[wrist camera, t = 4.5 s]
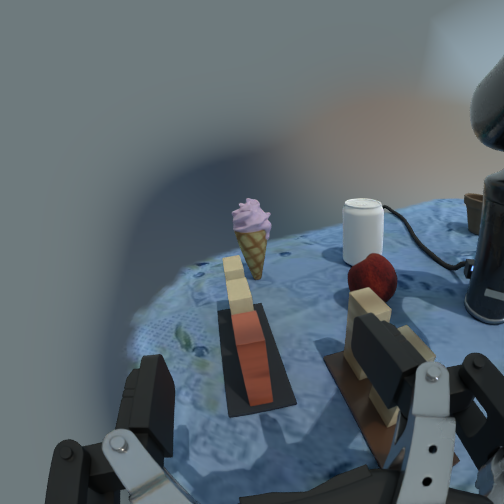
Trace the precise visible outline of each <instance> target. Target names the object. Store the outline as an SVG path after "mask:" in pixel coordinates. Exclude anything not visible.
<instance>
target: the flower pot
mask: <svg viewBox="0 0 504 504" xmlns="http://www.w3.org/2000/svg"><path fill="white" fill-rule="evenodd" d="M464 203H465V204H466V207H467V218H468V229H469V231H471V232H472V233H474V234H477V235H479V231H480V224H481V215H482V204H483V195H479V194H472V193H468V194H465V197H464Z"/></svg>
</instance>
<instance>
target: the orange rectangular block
mask: <svg viewBox="0 0 504 504" xmlns="http://www.w3.org/2000/svg"><path fill="white" fill-rule="evenodd" d="M231 318H232V324H233V330H234V336H235V342H236V347H237V352H238V356H239V361H240V365H241V370H242V374H243V378H244V383H245V387H246V391H247V395H248V400H249V404H250V406H255V405H261V404H266V403H270V402H273V397H272V389H271V382H270V374H269V366H268V358H267V351H266V343H265V338H264V335H263V332H262V328H261V325H260V322H259V319H258V315H257V312H256V310H255V311H250V312H245V313H239V314H234V315H231Z"/></svg>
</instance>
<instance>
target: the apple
mask: <svg viewBox="0 0 504 504" xmlns="http://www.w3.org/2000/svg"><path fill="white" fill-rule="evenodd" d="M348 285H349V289H350V292H352V291H356V290H360V289H364V288H368V287H369V288H370V289H371V290H372V291H373V292H374V293H375V294H376V295H377V296H378V297H379V298H381V299H382V300H383V301H384V302H385V303H386V302H387V301H388V300H389V299H390V298H391V297H392V296H393V295H394V293H395V291H396V288H397V275H396V272H395V270H394V268H393V266H392V265H391V263H390V262H389V261H388V260H387V259H386V258H384V257H383V256H382V255H380V254H377V253H371V254H369V255H368V256H367V257H366V259H364V260H363V261H361V262H359V263H357V264H355V265H354V266H352V267H351V269H350V270H349V272H348Z"/></svg>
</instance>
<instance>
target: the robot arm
mask: <svg viewBox="0 0 504 504" xmlns="http://www.w3.org/2000/svg"><path fill="white" fill-rule="evenodd" d="M470 120H471V125H472V129H473V131H474V133H475V135H476V137H477V138H478V139H479V140H480V141H481V143H483V144H484V145H486V146H488V147H490V148H492V149H495V150H499V151H503V152H504V56H503V57H502V58H501V60H500V61H499V62H498V64H496V66H495V67H494V68H493V69H492V70H491V71H490V72H489V73H488V74H487V75H486V77H485V78H484V79H483V80H482V81H481V82H480V83H479V85H478V86H477V88H476V90H475V92H474V94H473V97H472V100H471V106H470ZM382 207H383V209H384V208H386V209H388V210H389V211H390V212H392V213H393V214H395V215H397V216H398V217H399V218H400V219H401V220H402V221H403V222H404V223H405V224H406V226H407V228H408V230H409V231H410V233H411V235H412V237H413V239H414V240H415V241H416V243H417V244H418V245H419V246H420V247H421V249H422V250H424V251H425V252H426V253H427V254H428V255H429V256H431V257H432V258H433V259H434V260H435V261H436V262H437V263H439V264H440V265H442V266H443V267H445V268H447V269H449V270H458V269H460V268H461V267H464V266H465V268H464V275H465V277H466V278H467V279H470V283H469V287H468V290H467V293H466V296H465V299H464V305H465V307H466V309H467V311H468V312H469V313H470V314H471V315H472V316H473V317H475V318H476V319H478V320H480V321H482V322H485V323H489V324H501V323H503V322H504V169H503V170H501V171H499V172H497V173H494V174H491V175H488V176H487V177H486V178H485V180H484V190H483V204H482V215H481V224H480V231H479V238H478V244H477V250H476V255H475V260H474V259H466V261H463V262H460V263H458V264H457V265H454V266H453V265H449V264H447V263H445V262H444V261H442V260H441V259H440V258H438V257H437V256H436V255H435V254H434V253H433V252H431V251H430V250H429V249H428V248H427V247H425V246H424V245H423V244H422V243H421V241H420V240H419V239H418V238H417V237H416V235H415V233H414V232H413V230H412V228H411V226H410V225H409V223H408V222H407V220H406V219H405V218H404V217H403V216H402V215H400V214H399V213H397V212H396V211H394V210H392V209H391V208H390V207H388V206H386V205H384V206H382ZM351 350H352V353H353V356H354V358H355V359H356V361H357V362H358V364H359V365H360V367H361V368H362V370H363V371H364V373H365V374H366V376H367V377H368V379H369V380H370V382H371V384H372V385H373V387H374V388H375V390H376V391H377V393H378V394H379V396H380V398H381V399H382V401H383V402H384V404H385V405H386V407H387V409H391V408H393V407H395V406H398V408H399V409H400V410H399V412H398V417H397V422H396V427H395V432H394V436H393V441H392V445H391V449H390V452H389V454H388V457H387V459H386V461H385V464H384V467H383V469H370V470H369V469H368V467H367V465H366V464H365V465H363V466H360V467H358V468H355V469H353V470H350V471H347V472H344V473H342V474H339V475H336V476H335V477H333V478H331V479H330V480H328V481H326V482H324V483H323V484H321V485H319V486H317V487H315V488H313V489H311V490H309V491H306V492H271V493H265V494H259V495H253V496H246V497H239V500H240V503H239V504H504V376H503V375H502V373H501V372H500V371H499V370H498V369H497V368H496V367H495V366H494V365H493V363H492V362H491V361H490V360H489V359H488V358H487V357H486V356H484V355H483V354H480V353H471V354H469V355H467V356H466V357H465V359H464V361H463V363H462V365H457V366H452V367H447V368H446V367H445V366H444V365H442V364H441V363H438V362H434V361H429V362H427V361H426V360H425V359H424V357H423V356H422V355H421V354H420V353H419V352H418V351H417V350H416V349H415V347H414V346H413V345H412V344H411V343H410V342H409V341H408V340H406V338H405V337H404V335H403V334H402V335H401V332H400V331H399V330H398V329H397V328H396V327H395V326H394V325H392V324H390V323H389V322H387V321H385V320H383V321H380V320H379V319H378V318H377V317H376V316H375V314H374V313H372V312H370V313H367V314H364V315H360V316H357V317H355V318H354V322H353V331H352V340H351ZM124 389H125V390H124V391H123V395H122V397H123V398H122V400H121V404H120V409H119V413H118V418H117V423H116V427H115V430H113V431H111V432H109V433H108V434H107V435H106V436H105V437H104V439H103V441H102V442H101V443H97V444H92V445H88V446H83V447H82V446H81V445H80V444H79V443H78V442H76V441H74V440H71V439H68V440H64V441H62V442H60V443H59V444H58V445H57V446H56V447H55V449H54V453H53V457H52V462H51V467H50V473H49V478H48V485H47V491H46V498H45V504H120V490H123V489H127V491H128V493H129V494H130V496H129V500H130V502H131V503H132V504H200V503H199V502H198V501H196V500H195V499H194V498H193V497H192V496H191V495H190V494H189V493H188V492H187V491H186V490H185V489H184V488H183V487H182V486H181V485H180V484H179V483H178V482H177V481H176V479H175V478H174V477H173V476H172V475H171V474H170V473H169V472H168V471H167V469H166V468H165V467H164V458H171V457H173V430H174V407H175V385H174V381H173V378H172V376H171V374H170V372H169V370H168V367H167V365H166V363H165V361H164V358H163V356H162V355H161V354H158V355H147V356H143V357H142V360H141V364H140V369H133V370H132V372H131V373H130V374H129V376H128V377H127V379H126V383H125V387H124ZM475 397H476V399H477V400H478V401H479V403H480V404H481V405H482V407H483V408H484V409H485V411H486V413H487V419H486V417H485V416H484V414H483V413H482V412H481V410H480V409H479V407H478V406H477V405H476V403H475V402H474V401H473V399H474V398H475ZM455 432H456V434H457V435H458V437H459V439H460V440H461V442H462V444H463V445H464V447H465V449H466V450H467V452H468V454H469V455H470V457H471V459H472V460H473V462H474V464H475V466H476V467H477V469H478V471H479V472H478V475H477V480H476V482H475V487H476V488H477V489H479V494H474V493H470V492H465V491H461V490H457V489H453V488H449V484H450V478H451V471H452V464H453V455H454V444H455Z"/></svg>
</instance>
